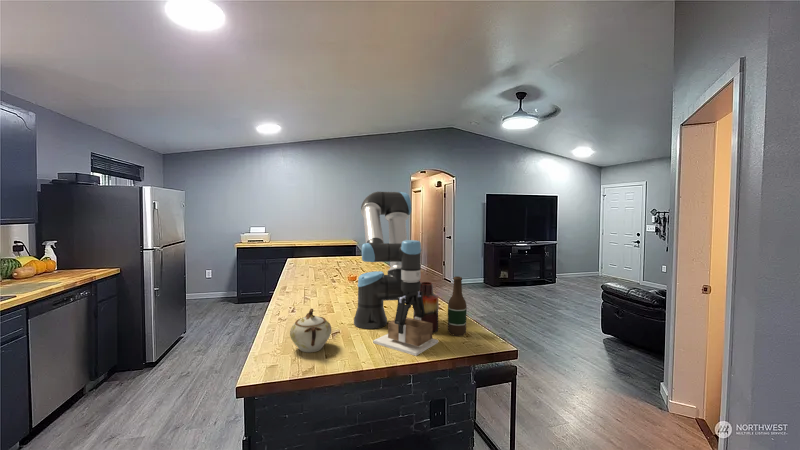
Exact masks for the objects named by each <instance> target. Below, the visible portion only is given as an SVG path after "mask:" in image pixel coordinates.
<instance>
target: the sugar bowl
mask: <svg viewBox="0 0 800 450" xmlns="http://www.w3.org/2000/svg"><path fill="white" fill-rule="evenodd" d="M331 334H332V325H331V323H330V322H329V321H328V320H327V319H326V318H325V317H323V316H318V315H314V308H310V309H309V312H308V313H306V315H305V316H304V317H302V318H301V317H300V318H298V319H297V320H295V322H294V323H293V324H292V325H291V327H290V330H289V337H290V339H291V340H292V342H293V343H294V345H295V346H296V347H297V348H298V350H299V351H300V352H302V353H303V352H304V353H316V352H319V351H320V350H322V349H323V348H324V346H325V345H326V343H327V341H328V340H329V338H330V336H331Z"/></svg>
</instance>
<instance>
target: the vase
mask: <svg viewBox="0 0 800 450" xmlns="http://www.w3.org/2000/svg"><path fill="white" fill-rule="evenodd" d="M420 282H421V288H420V292H423V304H424V311H425V314H424V317H423V318H422V317H421V321H425V322H430V323H433V332H432V334H434V333H437V332H438V331H439V296H438V295H437V294H435V293H434V284H433V282H430V281H420ZM421 311H422V310H421ZM412 316H413V318H412V319H415V317H417V316H416V315H415V312H414V311H413V315H412Z"/></svg>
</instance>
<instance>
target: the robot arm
mask: <svg viewBox="0 0 800 450" xmlns="http://www.w3.org/2000/svg"><path fill="white" fill-rule="evenodd" d="M360 213H361V216H362V217H363V224H364V226H363V227H364V236H365V238H364V239H365V243H363V244H361V260H362V261H363V262H366V263H381V262H382V263H384V262H385V263H386V262H389V263H390V264H389V265H390V268H389V269H388V270H387V274H385V273H384V272H383V271H381V270H379V271H377V270H376V271H369V272H368V271H367V272H364V273H362V274H360V275H359V276H358V279H357V292H358V293H357V309H356V312H355V315H354V318H353V325H354V326H355V327H356V328H361V329H368V330H369V329H370V330H371V329H372V330H375V329H380V328H383V327H385V326H386V325H388V318H387V315H386V310H385V307H384V301H397V305H396V310H395V311H396V312H395V318H394V320H395V324H398V333H399V341H400V342H404V343H405V342H406V325H404V324H405V320H406V317H408V314H409V310H410V309H411V307H412V308H413V309H412V310H413V313H414V312H415V315H416V316H417V317H415V319H417V320H421V317H422V318H423V317H424V314H425V311H424V304H423V292H420V288H421V282H422V281H420V280H421V275H422V273H421V272H422V271H421V270H422V269H421V268H422V267H421V266H422V265H421V264H422V243H421V241H420V240H416V239H408V238H407V236H408V233H407V220H408V219H409V216H410V215H411V213H412V201H411V197H410V195H409V193H407V192H404V191H403V192H402V191H375V192H372V193H371V194H368V195H367V196H366V197H365V199H363V201H362V204H361V206H360ZM381 215H382V216H384V219H385V220H386V221H388V239H389V242H388V243H387V242H386V243H385V242H384V235H383V229H382V228H383V227H382V222H381ZM421 310H422V311H421Z"/></svg>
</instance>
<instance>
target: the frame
mask: <svg viewBox="0 0 800 450" xmlns="http://www.w3.org/2000/svg"><path fill="white" fill-rule="evenodd" d="M404 325H406V342H405V343H408V344H412V345H415V346H420V345H422V344H424V343H425V342H427V341H429V340H431V339H432V338H433V333H432V332H433V323H430V322H425V321H421V320H417V319H413V318H412V317H408V316H407V317H406V320H405V324H404ZM387 334H388V338H390V339H394V340H397V341H399V333H398V324H395V319H394V320H391V321H387Z"/></svg>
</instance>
